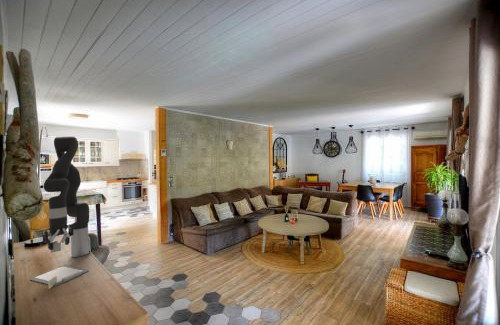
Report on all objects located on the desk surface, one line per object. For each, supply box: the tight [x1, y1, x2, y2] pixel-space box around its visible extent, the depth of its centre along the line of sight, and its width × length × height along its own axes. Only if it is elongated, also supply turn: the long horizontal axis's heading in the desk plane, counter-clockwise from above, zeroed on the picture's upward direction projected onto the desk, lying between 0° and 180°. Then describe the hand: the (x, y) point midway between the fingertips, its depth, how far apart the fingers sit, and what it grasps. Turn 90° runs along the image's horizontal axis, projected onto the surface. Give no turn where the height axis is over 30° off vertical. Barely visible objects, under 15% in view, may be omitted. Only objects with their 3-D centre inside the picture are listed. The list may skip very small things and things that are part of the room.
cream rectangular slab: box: [47, 276, 57, 290], centre depth 113 cm, size 5×1×4 cm, turn 9°
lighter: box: [50, 234, 67, 253], centre depth 126 cm, size 7×2×8 cm, turn 131°
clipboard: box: [29, 265, 90, 288], centre depth 123 cm, size 16×20×2 cm
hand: (59, 247), depth 126 cm, fingers closed on lighter, 7 cm apart
